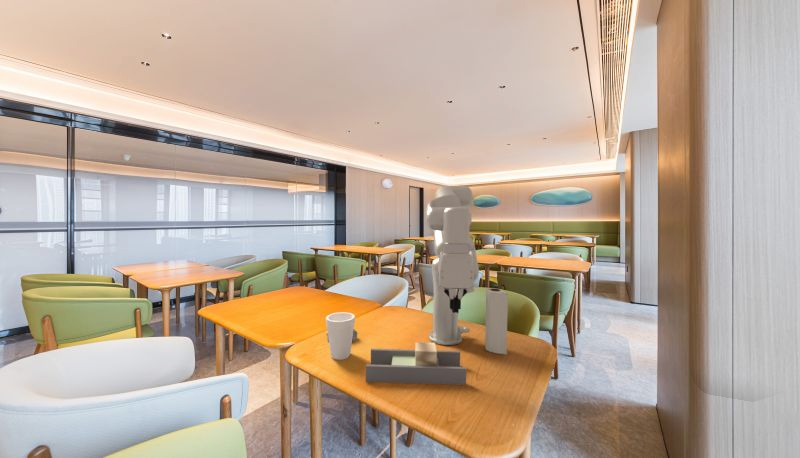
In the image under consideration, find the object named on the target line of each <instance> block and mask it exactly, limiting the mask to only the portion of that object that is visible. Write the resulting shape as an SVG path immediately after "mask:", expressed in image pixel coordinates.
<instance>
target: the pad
mask: <svg viewBox="0 0 800 458" xmlns="http://www.w3.org/2000/svg"><path fill="white" fill-rule="evenodd" d="M392 365H406V366H415V356H396V355H393V358H392Z"/></svg>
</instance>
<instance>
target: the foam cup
mask: <svg viewBox="0 0 800 458" xmlns="http://www.w3.org/2000/svg"><path fill="white" fill-rule="evenodd" d="M355 324H356V316H355V314H354V313H351V312H345V311H343V312H342V311H341V312H333V313H331V314H328V315H327V316H326V317H325V326H326V331H327V333H328V336H327V338H329V342H328V343H329V352H330V356H331V358H332V359H333V360H344V359H347V358H349V357H350V356H351V351H352V344H353V341H352V337H353V329H354V328H355ZM354 330H355V329H354Z"/></svg>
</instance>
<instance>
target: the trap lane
mask: <svg viewBox="0 0 800 458" xmlns="http://www.w3.org/2000/svg"><path fill="white" fill-rule="evenodd" d="M436 351H437V365H436V366H406V365H392V358H393V355H396V356H415V349H402V348H401V349H399V348H398V349H393V348H388V349H387V348H370V363H369V364H367V363H366V364H365V383H388V384H389V383H391V384H392V383H395V384H419V385H420V384H423V385H424V384H425V385H426V384H427V385H428V384H429V385H458V386H460V385H461V386H463V385H464V386H467V368H466V366H461V351H460V350H440V349H439V350H438V349H436Z"/></svg>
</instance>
